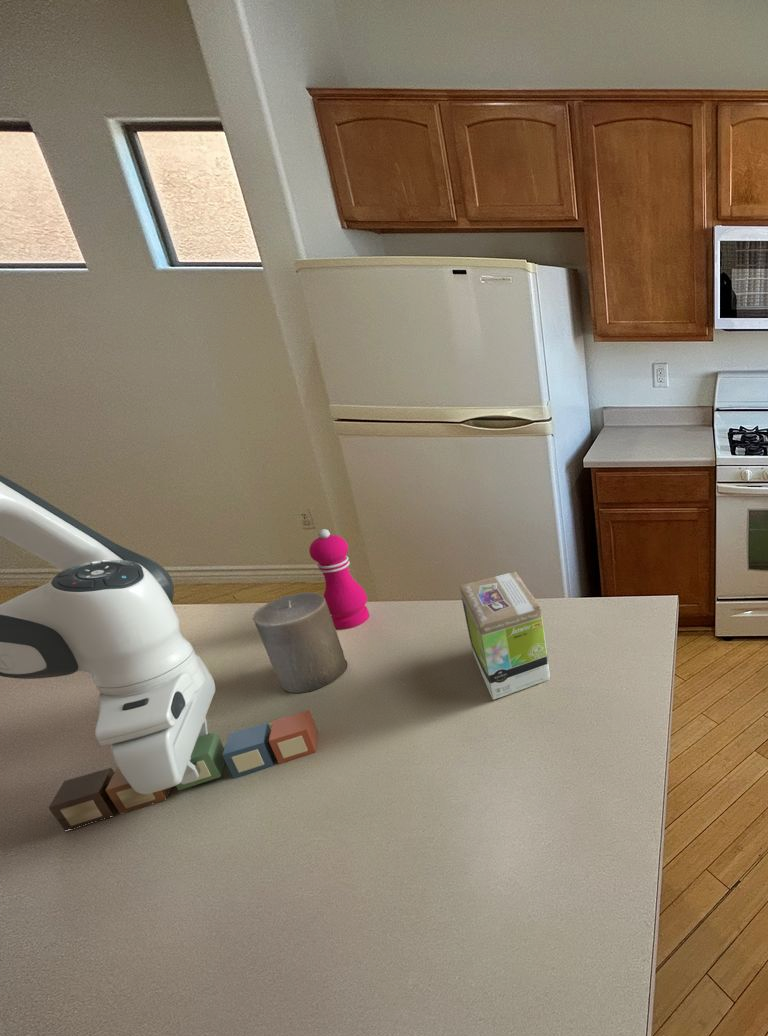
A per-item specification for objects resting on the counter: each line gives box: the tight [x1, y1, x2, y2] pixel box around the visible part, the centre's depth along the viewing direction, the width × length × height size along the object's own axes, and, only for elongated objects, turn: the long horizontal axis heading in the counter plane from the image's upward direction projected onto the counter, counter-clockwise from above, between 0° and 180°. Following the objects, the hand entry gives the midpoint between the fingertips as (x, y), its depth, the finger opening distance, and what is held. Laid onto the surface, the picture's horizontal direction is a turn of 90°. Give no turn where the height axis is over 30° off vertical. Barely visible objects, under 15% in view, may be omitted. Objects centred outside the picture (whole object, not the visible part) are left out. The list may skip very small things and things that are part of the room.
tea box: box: [459, 571, 551, 701], centre depth 95 cm, size 15×10×15 cm, turn 34°
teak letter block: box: [105, 766, 172, 815], centre depth 72 cm, size 4×5×4 cm
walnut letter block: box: [48, 766, 118, 831], centre depth 70 cm, size 4×5×4 cm
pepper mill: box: [308, 528, 370, 630], centre depth 106 cm, size 7×7×20 cm
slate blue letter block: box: [222, 722, 276, 779], centre depth 77 cm, size 4×5×4 cm
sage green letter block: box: [175, 731, 226, 791], centre depth 75 cm, size 4×4×4 cm
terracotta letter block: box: [269, 709, 319, 764], centre depth 80 cm, size 4×5×4 cm
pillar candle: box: [252, 591, 348, 694], centre depth 92 cm, size 10×10×15 cm
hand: (197, 762), depth 75 cm, fingers closed on sage green letter block, 4 cm apart
